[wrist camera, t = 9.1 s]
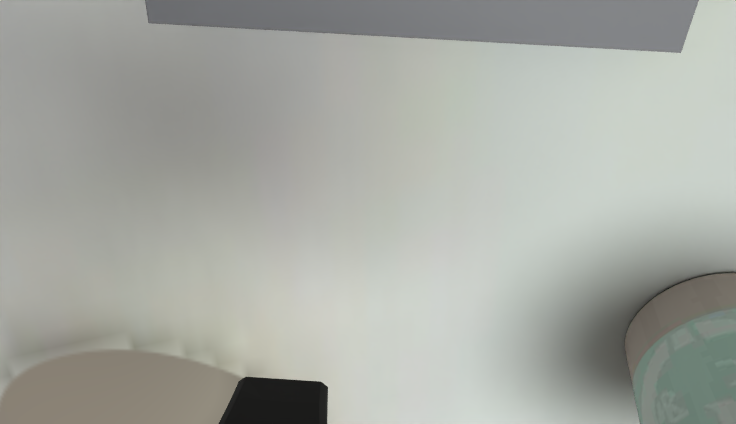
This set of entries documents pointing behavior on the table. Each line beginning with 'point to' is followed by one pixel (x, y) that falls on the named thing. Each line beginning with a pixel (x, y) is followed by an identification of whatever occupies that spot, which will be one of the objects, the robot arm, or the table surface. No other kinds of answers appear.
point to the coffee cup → (686, 353)
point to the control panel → (454, 19)
